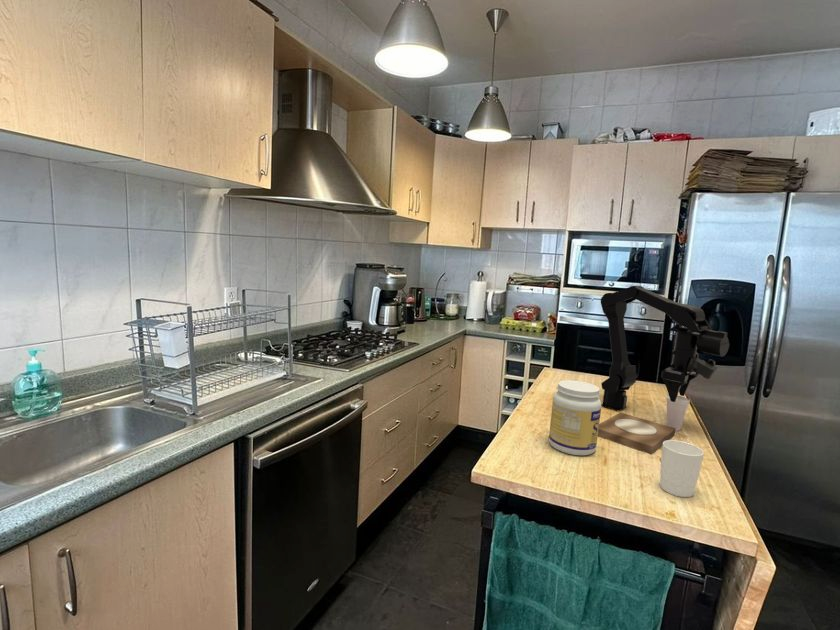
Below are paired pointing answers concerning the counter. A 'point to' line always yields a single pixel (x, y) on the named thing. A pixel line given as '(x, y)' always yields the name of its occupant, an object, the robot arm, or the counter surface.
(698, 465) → the white cup
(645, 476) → the counter surface
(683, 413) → the smoothie
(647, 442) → the walnut base
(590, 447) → the supplement tub
